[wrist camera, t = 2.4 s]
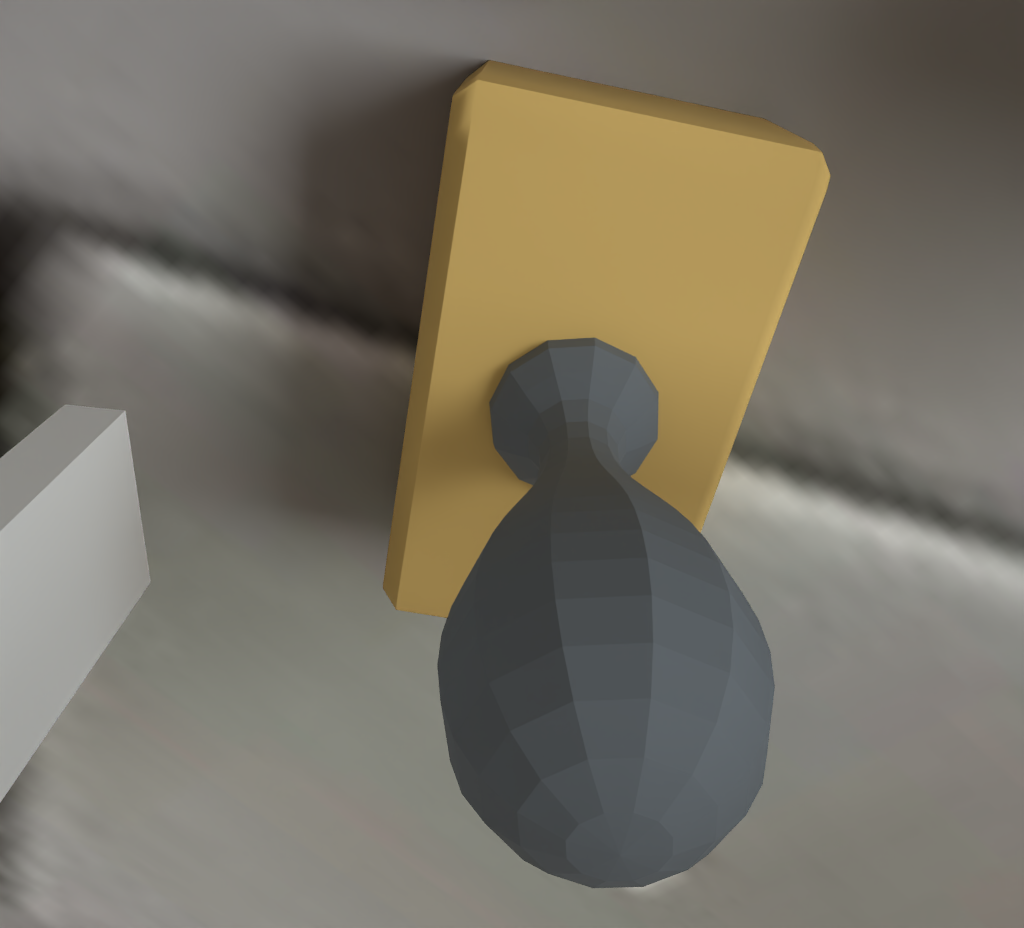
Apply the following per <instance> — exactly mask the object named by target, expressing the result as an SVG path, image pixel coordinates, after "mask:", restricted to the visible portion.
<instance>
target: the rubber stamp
mask: <svg viewBox="0 0 1024 928" xmlns="http://www.w3.org/2000/svg"><path fill="white" fill-rule="evenodd" d="M830 176H831V175H830V173H829V170H828V167H827V164H826V162H825V159H824V156H823V153H822V152H821V151H820V150H819V149H818V148H817V147H816V146H815V145H814V144H813V143H811V142H809V141H807V140H805V139H803V138H801V137H799V136H797V135H795V134H793V133H791V132H789V131H787V130H785V129H783V128H781V127H780V126H778V125H776V124H774V123H772V122H770V121H768V120H766V119H763V118H758V117H754V116H749V115H744V114H740V113H735V112H730V111H726V110H721V109H716V108H712V107H707V106H702V105H697V104H693V103H688V102H683V101H679V100H674V99H669V98H665V97H660V96H655V95H651V94H646V93H641V92H636V91H632V90H627V89H622V88H618V87H613V86H608V85H604V84H599V83H594V82H590V81H585V80H580V79H575V78H571V77H566V76H561V75H557V74H552V73H547V72H543V71H538V70H533V69H529V68H524V67H519V66H514V65H510V64H505V63H500V62H496V61H491V60H489V61H488V62H486V63H485V64H484V65H482V66H481V67H480V68H479V69H477V70H476V71H475V72H473V73H472V74H471V75H470V76H468V77H467V78H466V79H465V81H464V82H463V83H462V84H461V85H460V87H459V88H458V89H457V90H456V92H455V93H454V95H453V98H452V104H451V110H450V117H449V124H448V131H447V138H446V145H445V152H444V159H443V166H442V173H441V180H440V187H439V194H438V202H437V209H436V216H435V223H434V230H433V237H432V244H431V251H430V258H429V265H428V272H427V279H426V286H425V293H424V300H423V307H422V314H421V321H420V328H419V335H418V343H417V350H416V357H415V364H414V371H413V378H412V385H411V392H410V399H409V406H408V413H407V420H406V427H405V434H404V441H403V448H402V455H401V462H400V469H399V476H398V483H397V491H396V498H395V505H394V512H393V519H392V526H391V533H390V540H389V547H388V554H387V561H386V568H385V575H384V582H383V589H384V591H385V592H386V594H387V595H388V597H389V599H390V600H391V602H392V604H393V605H394V607H395V609H396V610H401V611H408V612H414V613H420V614H426V615H432V616H439V617H445V618H447V620H446V623H445V626H444V629H443V632H442V636H441V643H440V650H439V658H438V677H439V689H440V700H441V706H442V713H443V719H444V725H445V731H446V738H447V744H448V750H449V757H450V762H451V765H452V767H453V770H454V773H455V776H456V779H457V781H458V784H459V787H460V790H461V792H462V794H463V796H464V797H465V798H466V800H467V801H468V802H469V803H470V805H471V806H472V807H473V809H474V810H475V811H476V812H477V814H478V815H479V816H480V817H481V819H482V820H483V821H484V823H485V824H486V825H487V826H488V827H489V828H490V829H491V830H493V831H494V832H495V833H496V834H497V835H498V836H499V837H500V838H501V839H502V840H503V841H504V842H505V843H506V844H507V845H508V846H509V847H510V848H511V849H512V850H513V851H514V852H515V853H517V854H518V855H519V856H520V857H521V858H522V859H523V860H524V861H526V862H528V863H530V864H532V865H533V866H535V867H537V868H539V869H541V870H543V871H545V872H546V873H548V874H551V875H554V876H557V877H560V878H564V879H567V880H570V881H573V882H576V883H579V884H582V885H585V886H588V887H591V888H613V887H644V886H646V885H649V884H652V883H654V882H657V881H659V880H662V879H665V878H667V877H670V876H673V875H675V874H678V873H681V872H683V871H686V870H688V869H689V868H691V867H692V866H693V865H695V864H696V863H697V862H699V861H700V860H701V859H703V858H704V857H706V856H707V855H708V854H709V853H710V852H711V851H712V850H713V849H714V848H715V847H716V846H717V845H718V844H719V843H720V842H721V840H722V839H723V838H724V837H725V836H726V835H727V834H728V833H729V832H730V831H731V830H732V829H733V828H734V827H735V826H736V825H737V824H738V823H739V822H740V821H741V820H742V819H743V818H744V817H745V816H746V814H747V812H748V810H749V808H750V806H751V804H752V803H753V801H754V799H755V797H756V795H757V793H758V791H759V790H760V788H761V786H762V784H763V777H764V770H765V763H766V756H767V749H768V740H769V731H770V722H771V714H772V705H773V696H774V687H775V686H774V678H773V670H772V662H771V654H770V650H769V647H768V644H767V641H766V639H765V636H764V633H763V630H762V628H761V625H760V622H759V620H758V618H757V616H756V615H755V613H754V611H753V610H752V608H751V606H750V605H749V603H748V601H747V600H746V598H745V596H744V595H743V593H742V592H741V590H740V589H739V587H738V586H737V584H736V583H735V581H734V580H733V578H732V577H731V575H730V574H729V573H728V571H727V570H726V568H725V567H724V565H723V564H722V562H721V561H720V559H719V558H718V556H717V555H716V553H715V552H714V550H713V549H712V548H711V546H710V545H709V543H708V542H707V540H706V539H705V538H704V537H703V535H702V534H701V530H702V527H703V525H704V522H705V519H706V516H707V514H708V511H709V508H710V506H711V503H712V500H713V497H714V495H715V492H716V489H717V487H718V484H719V481H720V478H721V476H722V473H723V470H724V468H725V465H726V462H727V459H728V457H729V454H730V451H731V449H732V446H733V443H734V440H735V438H736V435H737V432H738V430H739V427H740V424H741V421H742V419H743V416H744V413H745V411H746V408H747V405H748V402H749V400H750V397H751V394H752V392H753V389H754V386H755V383H756V381H757V378H758V375H759V373H760V370H761V367H762V364H763V362H764V359H765V356H766V354H767V351H768V348H769V345H770V343H771V340H772V337H773V335H774V332H775V329H776V327H777V324H778V321H779V318H780V316H781V313H782V310H783V308H784V305H785V302H786V299H787V297H788V294H789V291H790V289H791V286H792V283H793V280H794V278H795V275H796V272H797V270H798V267H799V264H800V261H801V259H802V256H803V253H804V251H805V248H806V245H807V242H808V240H809V237H810V234H811V232H812V229H813V226H814V223H815V221H816V218H817V215H818V213H819V210H820V207H821V204H822V202H823V199H824V196H825V194H826V191H827V188H828V184H829V180H830Z"/></svg>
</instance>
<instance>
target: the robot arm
mask: <svg viewBox="0 0 1024 928" xmlns="http://www.w3.org/2000/svg"><path fill="white" fill-rule="evenodd" d="M150 583H151V580H150V573H149V566H148V560H147V553H146V546H145V540H144V533H143V526H142V519H141V513H140V506H139V499H138V492H137V486H136V479H135V472H134V465H133V459H132V452H131V445H130V438H129V432H128V425H127V418H126V412H125V410H116V409H106V408H97V407H87V406H77V405H67V404H65V405H64V406H63V407H61V408H60V409H59V410H58V411H57V412H55V413H54V414H53V415H52V416H51V417H49V418H48V419H47V420H46V421H44V422H43V423H42V424H41V425H40V426H38V427H37V428H36V429H35V430H34V431H32V432H31V433H30V434H29V435H28V436H26V437H25V438H24V439H23V440H22V441H20V442H19V443H18V444H17V445H16V446H14V447H13V448H12V449H11V450H10V451H8V452H7V453H6V454H5V455H4V456H2V457H1V458H0V802H1V801H2V799H3V798H4V796H5V795H6V794H7V792H8V791H9V789H10V788H11V786H12V785H13V783H14V782H15V780H16V779H17V777H18V776H19V774H20V773H21V772H22V770H23V769H24V767H25V766H26V764H27V763H28V761H29V760H30V758H31V757H32V755H33V754H34V753H35V751H36V750H37V748H38V747H39V745H40V744H41V742H42V741H43V739H44V738H45V736H46V735H47V733H48V732H49V731H50V729H51V728H52V726H53V725H54V723H55V722H56V720H57V719H58V717H59V716H60V714H61V713H62V712H63V710H64V709H65V707H66V706H67V704H68V703H69V701H70V700H71V698H72V697H73V695H74V694H75V692H76V691H77V690H78V688H79V687H80V685H81V684H82V682H83V681H84V679H85V678H86V676H87V675H88V673H89V672H90V671H91V669H92V668H93V666H94V665H95V663H96V662H97V660H98V659H99V657H100V656H101V654H102V653H103V651H104V650H105V649H106V647H107V646H108V644H109V643H110V641H111V640H112V638H113V637H114V635H115V634H116V632H117V631H118V630H119V628H120V627H121V625H122V624H123V622H124V621H125V619H126V618H127V616H128V615H129V613H130V612H131V610H132V609H133V608H134V606H135V605H136V603H137V602H138V600H139V599H140V597H141V596H142V594H143V593H144V591H145V590H146V589H147V587H148V586H149V584H150Z"/></svg>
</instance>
